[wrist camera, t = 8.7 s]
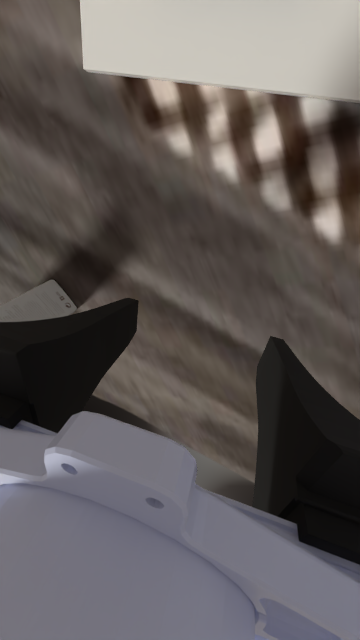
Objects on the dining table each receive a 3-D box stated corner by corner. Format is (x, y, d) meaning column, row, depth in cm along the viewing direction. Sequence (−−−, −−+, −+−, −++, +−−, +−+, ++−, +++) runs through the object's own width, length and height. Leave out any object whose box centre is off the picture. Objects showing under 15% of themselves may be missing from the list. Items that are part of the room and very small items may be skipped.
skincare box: (53, 276, 25) (-81, 337, 15) (80, 309, 27) (-26, 386, 16) (25, 300, 28) (-102, 365, 18) (51, 329, 30) (-54, 405, 19)
